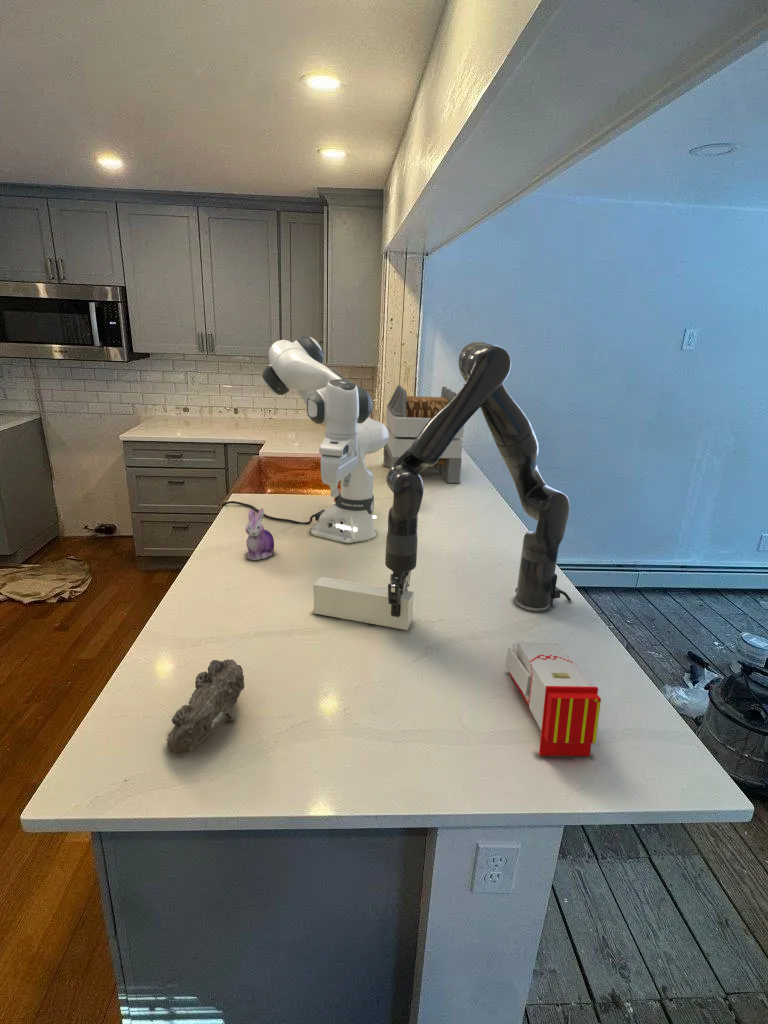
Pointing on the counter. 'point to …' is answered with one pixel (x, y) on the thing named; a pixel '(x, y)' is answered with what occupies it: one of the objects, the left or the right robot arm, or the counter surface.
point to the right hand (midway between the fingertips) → (398, 610)
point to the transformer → (419, 429)
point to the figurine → (258, 537)
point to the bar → (360, 603)
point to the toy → (556, 697)
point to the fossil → (206, 705)
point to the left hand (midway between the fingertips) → (340, 491)
